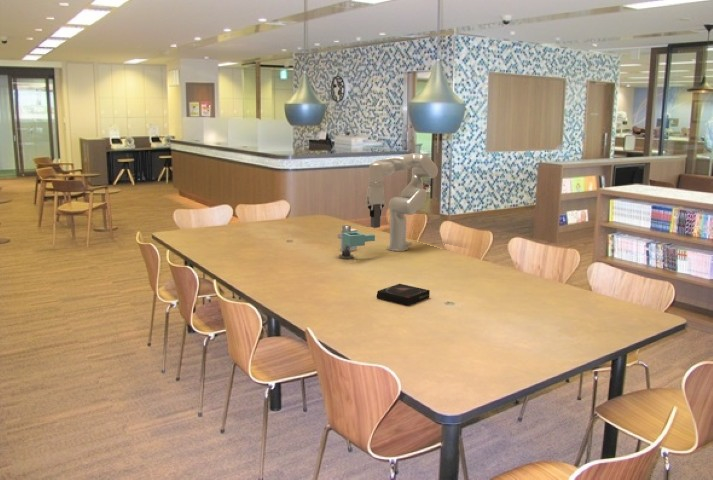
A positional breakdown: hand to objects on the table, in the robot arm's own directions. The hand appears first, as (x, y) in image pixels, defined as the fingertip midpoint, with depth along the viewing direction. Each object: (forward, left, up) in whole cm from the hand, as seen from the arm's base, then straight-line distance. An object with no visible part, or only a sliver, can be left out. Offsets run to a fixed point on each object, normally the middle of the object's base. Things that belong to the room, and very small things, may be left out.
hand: (375, 216), depth 358 cm
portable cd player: (+31, +82, -23) cm, 91 cm away
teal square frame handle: (+14, +9, -13) cm, 22 cm away
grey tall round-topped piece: (+18, 0, -22) cm, 29 cm away
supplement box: (+8, -17, -23) cm, 30 cm away
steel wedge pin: (0, 0, -6) cm, 6 cm away
